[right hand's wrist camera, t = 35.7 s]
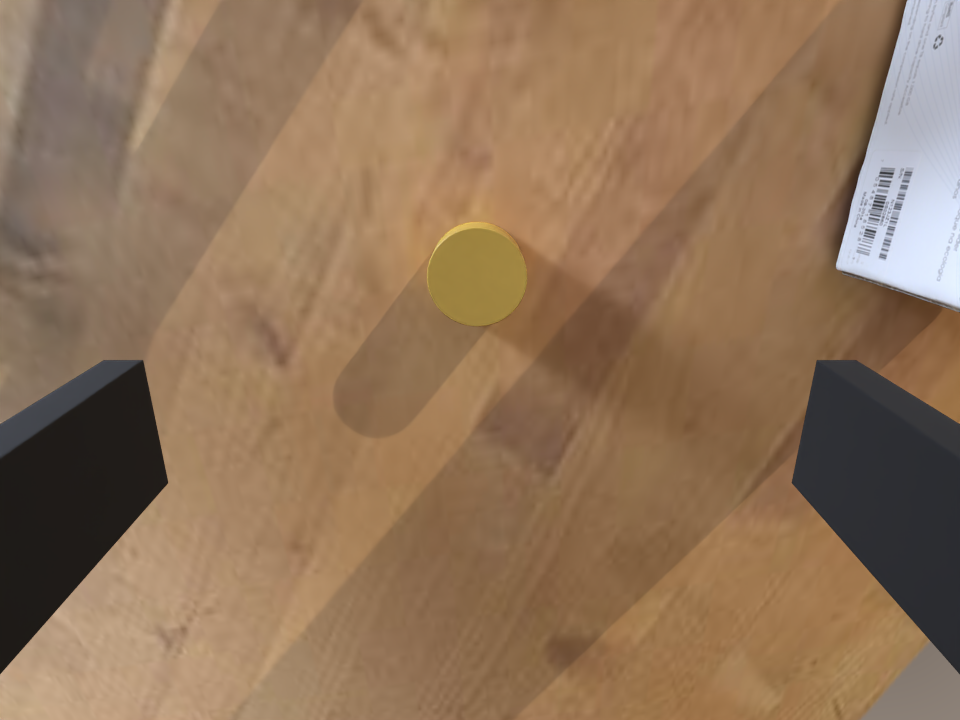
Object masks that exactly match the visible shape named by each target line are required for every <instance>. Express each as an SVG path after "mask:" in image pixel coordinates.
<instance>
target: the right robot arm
mask: <svg viewBox="0 0 960 720" xmlns="http://www.w3.org/2000/svg"><path fill="white" fill-rule="evenodd" d="M167 484H168V479H167V474H166V470H165V465H164V460H163V455H162V450H161V445H160V440H159V435H158V430H157V426H156V421H155V416H154V411H153V406H152V401H151V396H150V391H149V386H148V382H147V377H146V372H145V367H144V362H143V360H103V361H102V362H100V363H99V364H97V365H95V366H94V367H92V368H91V369H89V370H87V371H86V372H84V373H82V374H81V375H79V376H78V377H76V378H74V379H73V380H71V381H69V382H68V383H66V384H65V385H63V386H61V387H60V388H58V389H57V390H55V391H53V392H52V393H50V394H48V395H47V396H45V397H44V398H42V399H40V400H39V401H37V402H35V403H34V404H32V405H31V406H29V407H27V408H26V409H24V410H23V411H21V412H19V413H18V414H16V415H14V416H13V417H11V418H10V419H8V420H6V421H5V422H3V423H1V424H0V674H1V673H2V672H3V670H4V669H5V668H6V667H7V666H8V665H9V664H10V662H11V661H12V660H13V659H14V658H15V657H16V656H17V654H18V653H19V652H20V651H21V650H22V649H23V648H24V647H25V645H26V644H27V643H28V642H29V641H30V640H31V639H32V637H33V636H34V635H35V634H36V633H37V632H38V631H39V629H40V628H41V627H42V626H43V625H44V624H45V623H46V621H47V620H48V619H49V618H50V617H51V616H52V615H53V614H54V612H55V611H56V610H57V609H58V608H59V607H60V606H61V604H62V603H63V602H64V601H65V600H66V599H67V598H68V596H69V595H70V594H71V593H72V592H73V591H74V590H75V588H76V587H77V586H78V585H79V584H80V583H81V582H82V580H83V579H84V578H85V577H86V576H87V575H88V574H89V573H90V571H91V570H92V569H93V568H94V567H95V566H96V565H97V563H98V562H99V561H100V560H101V559H102V558H103V557H104V555H105V554H106V553H107V552H108V551H109V550H110V549H111V547H112V546H113V545H114V544H115V543H116V542H117V541H118V540H119V538H120V537H121V536H122V535H123V534H124V533H125V532H126V530H127V529H128V528H129V527H130V526H131V525H132V524H133V522H134V521H135V520H136V519H137V518H138V517H139V516H140V514H141V513H142V512H143V511H144V510H145V509H146V508H147V506H148V505H149V504H150V503H151V502H152V501H153V500H154V499H155V497H156V496H157V495H158V494H159V493H160V492H161V491H162V489H163V488H164V487H165V486H166V485H167ZM792 484H793V485H794V486H795V487H796V488H797V489H798V491H799V492H800V493H801V494H802V495H803V496H804V497H805V499H806V500H807V501H808V502H809V503H810V504H811V505H812V506H813V508H814V509H815V510H816V511H817V512H818V513H819V514H820V516H821V517H822V518H823V519H824V520H825V521H826V522H827V524H828V525H829V526H830V527H831V528H832V529H833V530H834V532H835V533H836V534H837V535H838V536H839V537H840V538H841V540H842V541H843V542H844V543H845V544H846V545H847V546H848V547H849V549H850V550H851V551H852V552H853V553H854V554H855V555H856V557H857V558H858V559H859V560H860V561H861V562H862V563H863V565H864V566H865V567H866V568H867V569H868V570H869V571H870V573H871V574H872V575H873V576H874V577H875V578H876V579H877V580H878V582H879V583H880V584H881V585H882V586H883V587H884V588H885V590H886V591H887V592H888V593H889V594H890V595H891V596H892V598H893V599H894V600H895V601H896V602H897V603H898V604H899V606H900V607H901V608H902V609H903V610H904V611H905V612H906V614H907V615H908V616H909V617H910V618H911V619H912V620H913V621H914V623H915V624H916V625H917V626H918V627H919V628H920V629H921V631H922V632H923V633H924V634H925V635H926V636H927V637H928V639H929V640H930V641H931V642H932V643H933V644H934V645H935V646H936V648H937V649H938V650H939V651H940V652H941V653H942V654H943V656H944V657H945V658H946V659H947V660H948V661H949V662H950V663H951V665H952V666H953V667H954V668H955V669H956V670H957V672H958V673H959V674H960V424H959V423H957V422H955V421H954V420H952V419H950V418H949V417H947V416H946V415H944V414H942V413H941V412H939V411H937V410H936V409H934V408H933V407H931V406H929V405H928V404H926V403H925V402H923V401H921V400H920V399H918V398H916V397H915V396H913V395H912V394H910V393H908V392H907V391H905V390H903V389H902V388H900V387H899V386H897V385H895V384H894V383H892V382H891V381H889V380H887V379H886V378H884V377H882V376H881V375H879V374H878V373H876V372H874V371H873V370H871V369H869V368H868V367H866V366H865V365H863V364H861V363H860V362H858V361H856V360H817V362H816V367H815V372H814V377H813V381H812V386H811V391H810V396H809V401H808V406H807V411H806V416H805V421H804V426H803V430H802V435H801V440H800V445H799V450H798V455H797V460H796V465H795V470H794V474H793V479H792Z"/></svg>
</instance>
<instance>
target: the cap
mask: <svg viewBox="0 0 960 720" xmlns="http://www.w3.org/2000/svg"><path fill="white" fill-rule="evenodd" d="M427 283H428V288H429V292H430V295H431V297H432V299H433V301H434V303H435V304H436V306H437V307H438V308H439V309H440V311H442V312H443V313H444V314H445V315H446V316H447V317H449V318H450V319H452V320H454V321H456V322H458V323H460V324H464V325H468V326H487V325H491V324H494V323H496V322H499V321H501V320H503V319H504V318H506V317H507V316H509V315H510V314H511V313H512V312H513V311H514V310H515V309H516V307H517V306H518V305H519V303H520V302H521V300H522V298H523V296H524V293H525V290H526V285H527V269H526V264H525V261H524V258H523V256H522V253H521V251H520V248H519V247H518V245H517V243H516V242H515V240H514V239H513V238H512V237H511V236H510V235H509V234H508V233H507V232H506V231H504V230H503V229H501V228H500V227H498V226H495V225H493V224H489V223H485V222H469V223H465V224H462V225H459V226H457V227H455V228H453V229H451V230H450V231H449V232H447V233H446V234H445V235H444V236H443V237H442V238H441V239H440V241H439V242H438V244H437V245H436V247H435V249H434V252H433V254H432V257H431V259H430V262H429V266H428V271H427Z"/></svg>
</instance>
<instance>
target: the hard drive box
mask: <svg viewBox="0 0 960 720" xmlns="http://www.w3.org/2000/svg"><path fill="white" fill-rule="evenodd" d="M836 268H837V269H838V270H840V271H842V274H843V275H846V276H850V277H853V278H857V279H860V280H864V281H867V282H870V283H874V284H877V285H879V286H882V287H885V288H889V289H892V290H895V291H898V292H902V293H905V294H907V295H910V296H913V297H916V298H919V299H922V300H925V301H928V302H931V303H934V304H937V305H939V306H942V307H945V308H948V309H951V310H954V311H957V312H960V0H907V3H906V7H905V10H904V14H903V19H902V24H901V29H900V33H899V36H898V39H897V43H896V47H895V50H894V54H893V58H892V62H891V65H890V69H889V72H888V76H887V79H886V83H885V86H884V90H883V94H882V98H881V102H880V106H879V110H878V113H877V117H876V120H875V124H874V127H873V131H872V134H871V138H870V141H869V145H868V148H867V153H866V157H865V160H864V163H863V166H862V168H861V171H860V174H859V178H858V182H857V186H856V190H855V193H854V197H853V200H852V204H851V209H850V214H849V219H848V223H847V227H846V230H845V234H844V237H843V241H842V245H841V248H840V252H839V256H838V260H837V263H836Z"/></svg>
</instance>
